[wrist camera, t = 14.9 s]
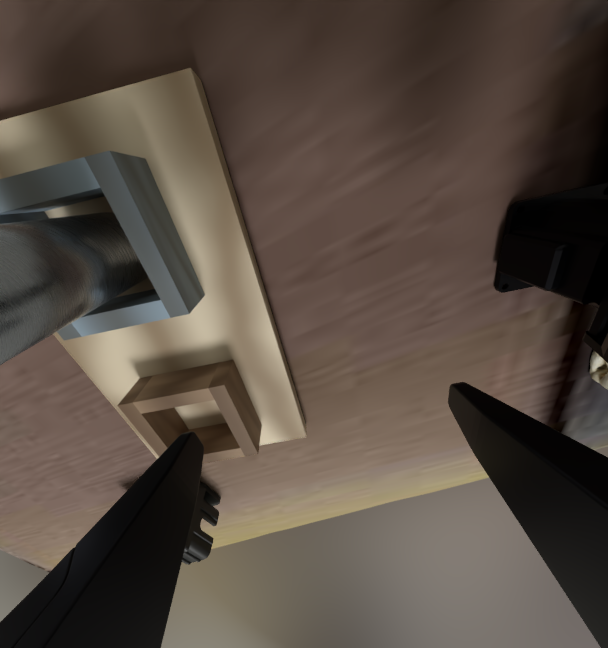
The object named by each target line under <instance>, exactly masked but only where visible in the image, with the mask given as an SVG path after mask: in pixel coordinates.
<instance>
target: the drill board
mask: <svg viewBox="0 0 608 648" xmlns="http://www.w3.org/2000/svg"><path fill="white" fill-rule="evenodd" d="M101 212H111V213H114V214H115V215H116V217H117V219H118V221H119V223H120V225H121V227H122V229H123V230H124V232H125V234H126V236H127V238H128V240H129V242H130V243H131V245H132V247H133V249H134V251H135V253H136V255H137V256H138V258H139V260H140V262H141V264H142V266H143V268H144V269H145V271H146V273H147V275H148V278H147V279H145V280H143V281H142V282H140V283H138V284H137V285H135V286H133V287H132V288H130V289H128V290H126V291H125V292H123V293H121V294H120V295H118V296H116V297H115V298H113V299H111V300H110V301H108V302H106V303H104V304H103V305H101V306H99V307H98V308H96V309H94V310H93V311H91V312H89V313H88V314H86V315H84V316H82V317H81V318H79V319H77V320H76V321H74V322H72V323H71V324H69V325H67V326H65V327H64V328H62V329H60V330H59V331H57V332H55V333H54V336H55V337H56V338H57V339H58V340H59V342H60V343H61V344H62V345H63V346H64V348H65V349H66V350H67V351H68V352H69V354H70V355H71V356H72V357H73V358H74V360H75V361H76V362H77V363H78V364H79V366H80V367H81V368H82V369H83V370H84V372H85V373H86V374H87V375H88V376H89V378H90V379H91V380H92V381H93V382H94V384H95V385H96V386H97V387H98V388H99V390H100V391H101V392H102V393H103V394H104V396H105V397H106V398H107V399H108V401H109V402H110V403H111V404H112V405H113V407H114V408H115V409H116V410H117V411H118V413H119V414H120V415H121V416H122V417H123V419H124V420H125V421H126V422H127V423H128V425H129V426H130V427H131V428H132V429H133V431H134V432H135V433H136V434H137V435H138V437H139V438H140V439H141V440H142V441H143V443H144V444H145V445H146V446H147V447H148V449H149V450H150V451H151V452H152V453H153V455H154V456H155V457H156V458H157V459H158V458H159V457H160V456H161V455H162V453H163V452H164V451H165V450H166V449H167V448H168V447H169V446H170V445H171V444H172V443H173V442H174V441H175V440H176V439H177V438H178V437H179V436H180V435H181V434H182V433H185V432H191V431H193V432H195V433H196V435H197V436H198V438H199V439H200V441H201V442H202V444H203V446H204V456H203V462H202V464H204V463H209V462H215V461H221V460H227V459H233V458H239V457H244V456H250V455H256V454H258V451H259V445H264V444H270V443H276V442H282V441H287V440H293V439H299V438H305V437H307V435H306V423H305V420H304V417H303V414H302V410H301V407H300V404H299V400H298V397H297V394H296V391H295V387H294V384H293V381H292V377H291V374H290V371H289V368H288V364H287V361H286V358H285V355H284V351H283V348H282V345H281V341H280V338H279V335H278V332H277V328H276V325H275V322H274V318H273V315H272V312H271V309H270V305H269V302H268V299H267V295H266V292H265V289H264V286H263V282H262V279H261V276H260V273H259V269H258V266H257V263H256V259H255V256H254V253H253V250H252V246H251V243H250V240H249V236H248V233H247V230H246V227H245V223H244V220H243V217H242V213H241V210H240V207H239V204H238V200H237V197H236V194H235V191H234V187H233V184H232V181H231V177H230V174H229V171H228V168H227V164H226V161H225V158H224V154H223V151H222V148H221V145H220V141H219V138H218V135H217V131H216V128H215V125H214V122H213V118H212V115H211V112H210V109H209V105H208V102H207V99H206V95H205V92H204V89H203V86H202V82H201V80H200V79H199V77H198V76H197V75H196V74H195V72H194V71H193V70H192V69H191V68H188V69H184V70H181V71H177V72H173V73H170V74H166V75H163V76H159V77H156V78H152V79H148V80H145V81H141V82H138V83H134V84H130V85H127V86H123V87H120V88H116V89H112V90H109V91H105V92H102V93H98V94H94V95H91V96H87V97H84V98H80V99H77V100H73V101H69V102H66V103H62V104H59V105H55V106H51V107H48V108H44V109H41V110H37V111H33V112H30V113H26V114H23V115H19V116H15V117H12V118H8V119H5V120H1V121H0V224H4V223H13V222H22V221H31V220H39V219H48V218H57V217H66V216H75V215H84V214H92V213H101Z"/></svg>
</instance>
